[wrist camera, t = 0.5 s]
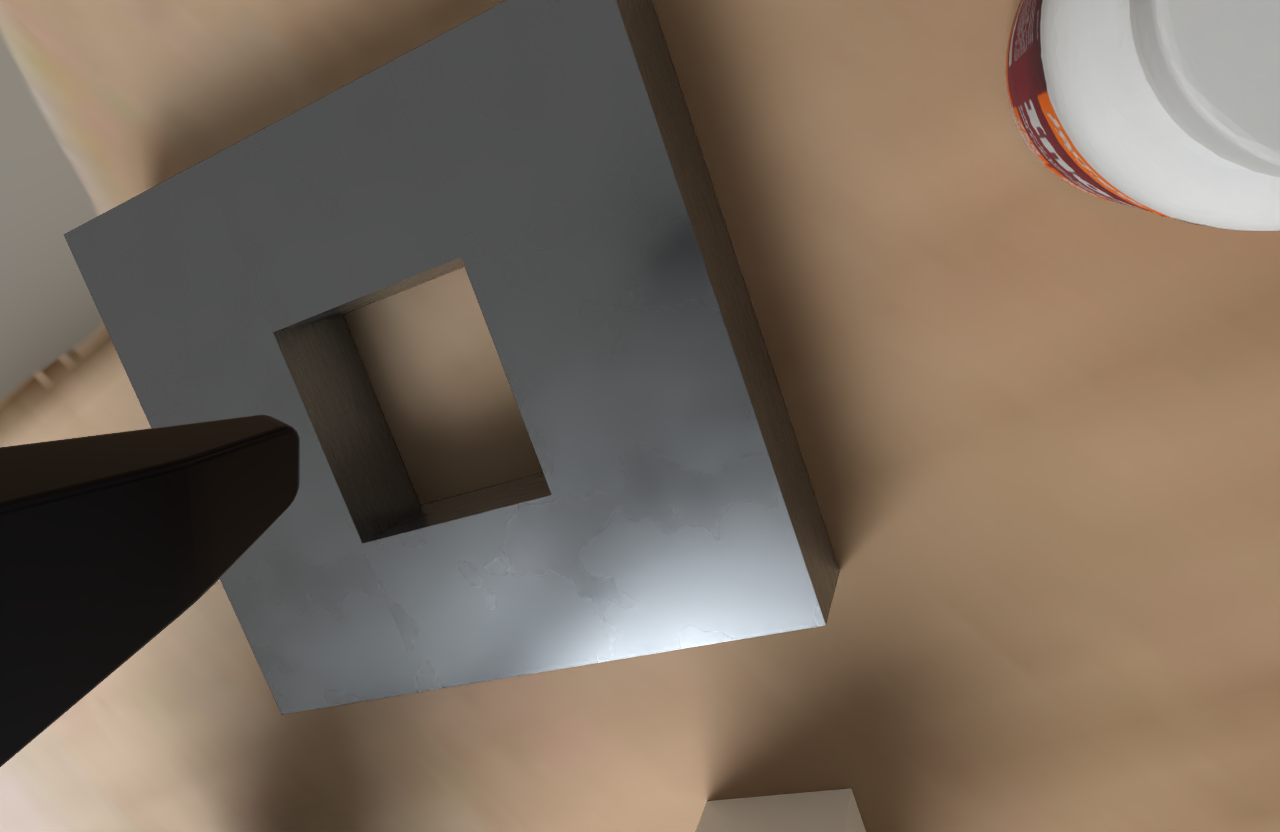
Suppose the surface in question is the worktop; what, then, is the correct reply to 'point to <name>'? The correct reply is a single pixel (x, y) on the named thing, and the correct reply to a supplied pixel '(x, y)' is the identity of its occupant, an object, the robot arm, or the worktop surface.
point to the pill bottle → (1155, 103)
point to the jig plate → (526, 344)
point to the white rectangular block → (784, 813)
